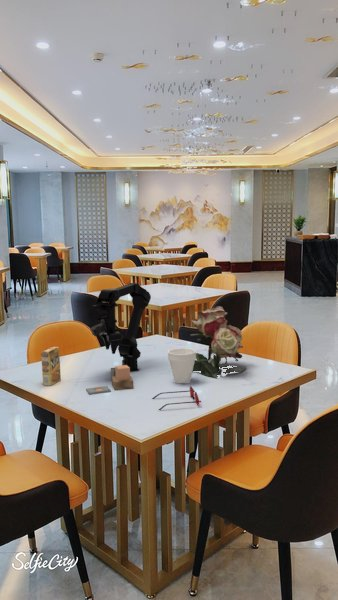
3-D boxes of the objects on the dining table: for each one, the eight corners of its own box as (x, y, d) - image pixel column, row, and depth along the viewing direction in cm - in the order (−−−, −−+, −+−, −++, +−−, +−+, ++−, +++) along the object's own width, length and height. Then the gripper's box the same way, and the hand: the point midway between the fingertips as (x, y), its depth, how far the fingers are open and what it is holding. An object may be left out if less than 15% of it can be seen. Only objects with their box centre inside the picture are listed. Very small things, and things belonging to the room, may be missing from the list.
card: (107, 387, 218) (107, 385, 217) (110, 391, 212) (110, 389, 212) (86, 390, 214) (86, 388, 214) (89, 394, 209) (89, 392, 209)
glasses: (201, 408, 192) (201, 395, 192) (157, 411, 189) (157, 398, 189) (192, 396, 206) (192, 384, 205) (151, 399, 203) (151, 387, 202)
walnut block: (130, 383, 224) (129, 375, 223) (133, 389, 216) (133, 380, 215) (111, 385, 222) (111, 376, 221) (114, 391, 214) (114, 381, 214)
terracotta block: (126, 376, 221) (126, 364, 221) (130, 379, 217) (129, 367, 216) (115, 377, 220) (115, 366, 219) (118, 380, 215) (118, 369, 214)
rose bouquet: (223, 381, 224) (223, 313, 220) (178, 368, 246) (177, 306, 242) (260, 370, 241) (261, 307, 237) (215, 358, 263) (215, 301, 259)
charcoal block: (121, 377, 233) (121, 366, 232) (124, 380, 228) (124, 369, 227) (110, 378, 231) (110, 368, 230) (113, 381, 226) (113, 370, 226)
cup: (181, 376, 233) (181, 346, 231) (202, 381, 225) (202, 350, 223) (162, 381, 225) (162, 351, 223) (182, 387, 216) (182, 356, 214)
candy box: (51, 386, 221) (49, 351, 219) (42, 385, 222) (40, 350, 220) (61, 380, 229) (59, 346, 227) (52, 379, 231) (51, 346, 228)
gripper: (86, 316, 235) (87, 349, 237) (97, 322, 218) (98, 358, 220) (109, 313, 239) (110, 346, 241) (122, 320, 222) (123, 355, 224)
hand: (110, 351), depth 232 cm, fingers open, 9 cm apart
